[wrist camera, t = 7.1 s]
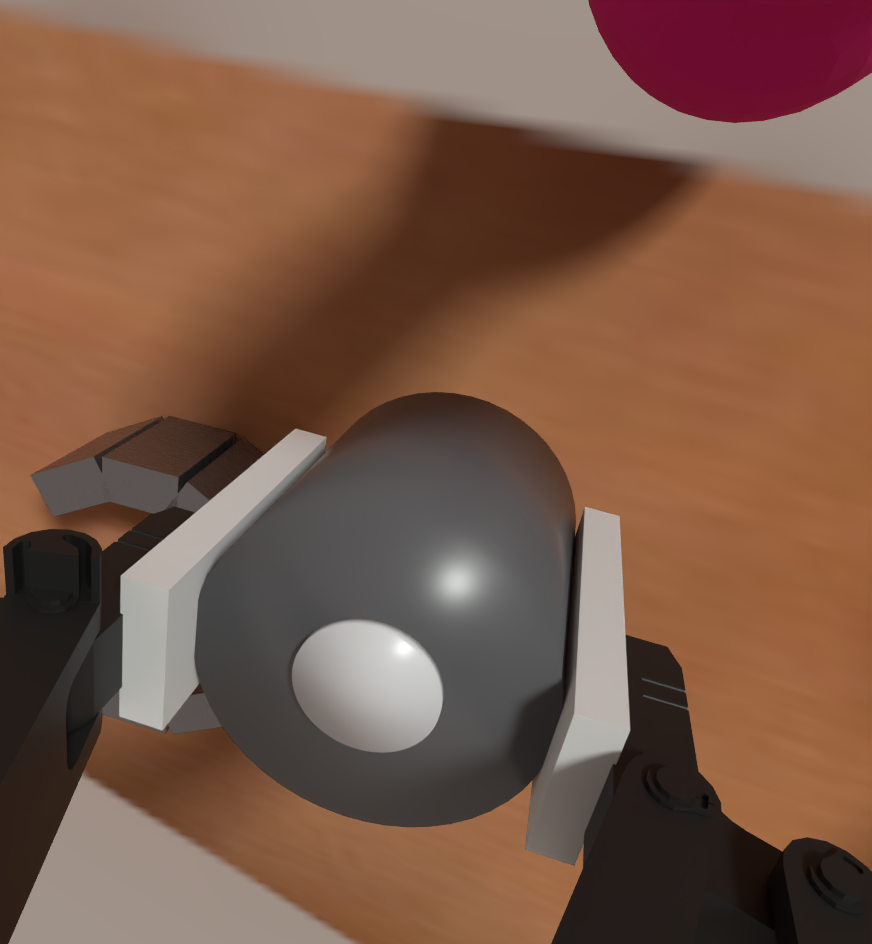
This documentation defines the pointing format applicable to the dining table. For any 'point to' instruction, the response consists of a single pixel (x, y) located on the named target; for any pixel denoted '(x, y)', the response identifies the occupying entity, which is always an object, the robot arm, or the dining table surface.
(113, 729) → the dining table surface
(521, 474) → the cap
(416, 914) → the dining table surface
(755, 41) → the pepper mill
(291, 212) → the dining table surface
